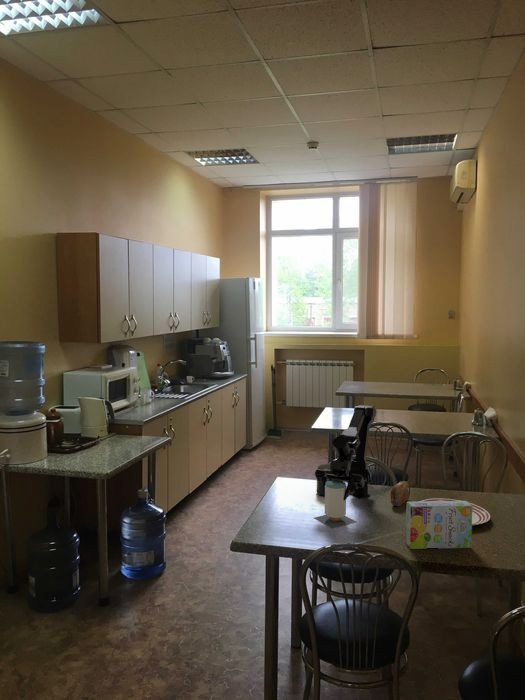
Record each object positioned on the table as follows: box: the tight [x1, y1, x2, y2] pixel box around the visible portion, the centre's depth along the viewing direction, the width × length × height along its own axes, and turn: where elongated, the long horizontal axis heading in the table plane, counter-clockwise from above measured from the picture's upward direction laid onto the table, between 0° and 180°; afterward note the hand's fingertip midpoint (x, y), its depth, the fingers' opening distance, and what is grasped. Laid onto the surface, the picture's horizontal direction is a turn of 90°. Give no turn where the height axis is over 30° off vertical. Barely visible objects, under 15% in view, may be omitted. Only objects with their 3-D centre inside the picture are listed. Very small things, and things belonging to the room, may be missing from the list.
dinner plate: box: [421, 497, 491, 526], centre depth 219 cm, size 27×27×3 cm
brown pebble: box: [329, 517, 341, 522], centre depth 215 cm, size 4×4×2 cm
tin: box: [390, 480, 411, 507], centre depth 235 cm, size 15×3×8 cm, turn 143°
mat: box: [313, 514, 358, 530], centre depth 215 cm, size 12×12×1 cm
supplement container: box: [315, 463, 340, 498], centre depth 245 cm, size 10×10×12 cm
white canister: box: [324, 480, 347, 518], centre depth 214 cm, size 8×8×12 cm
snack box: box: [405, 500, 473, 550], centre depth 193 cm, size 21×6×15 cm, turn 92°
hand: (334, 498), depth 213 cm, fingers closed on white canister, 7 cm apart
